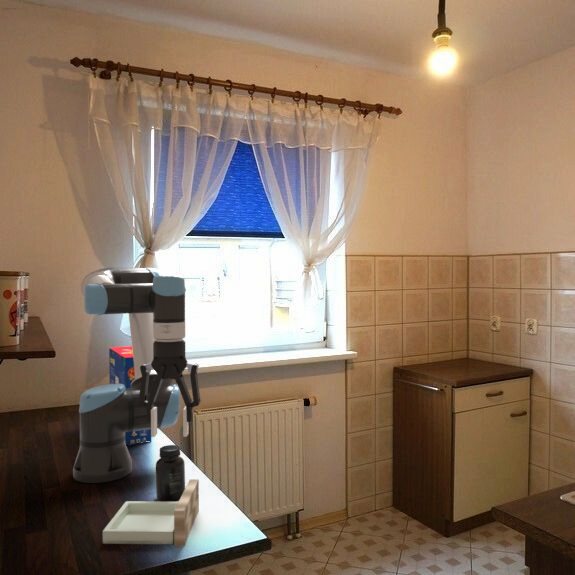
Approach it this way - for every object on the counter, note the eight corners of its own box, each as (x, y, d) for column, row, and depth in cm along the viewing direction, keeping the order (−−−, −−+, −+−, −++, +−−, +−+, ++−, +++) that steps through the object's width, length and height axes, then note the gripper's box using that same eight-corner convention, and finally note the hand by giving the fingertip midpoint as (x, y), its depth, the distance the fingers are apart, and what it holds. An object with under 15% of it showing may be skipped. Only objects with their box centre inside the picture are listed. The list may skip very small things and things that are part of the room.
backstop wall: (190, 510, 119) (189, 479, 119) (198, 510, 119) (198, 479, 119) (174, 545, 103) (174, 510, 103) (184, 545, 103) (184, 510, 103)
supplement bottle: (187, 491, 129) (186, 443, 129) (182, 503, 122) (182, 452, 122) (159, 491, 129) (158, 443, 129) (153, 503, 122) (152, 452, 122)
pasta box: (151, 442, 169) (150, 355, 169) (125, 445, 165) (125, 357, 165) (132, 421, 194) (131, 346, 193) (110, 424, 190) (109, 347, 189)
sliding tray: (126, 512, 118) (126, 501, 118) (188, 512, 117) (187, 501, 117) (102, 543, 104) (102, 531, 104) (172, 544, 103) (172, 531, 103)
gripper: (122, 341, 121) (123, 440, 122) (208, 341, 121) (209, 439, 122) (132, 338, 129) (133, 430, 129) (213, 337, 129) (213, 430, 129)
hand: (170, 435), depth 125 cm, fingers open, 7 cm apart
